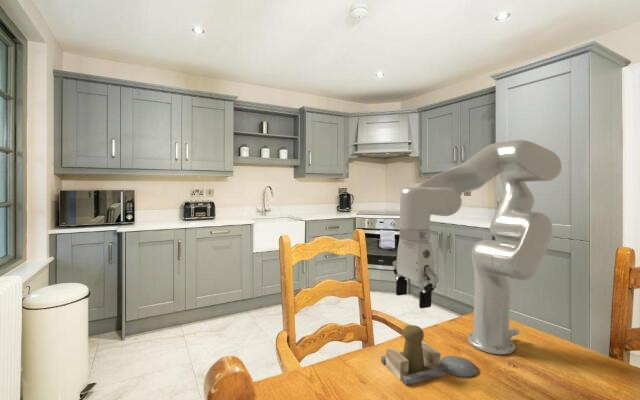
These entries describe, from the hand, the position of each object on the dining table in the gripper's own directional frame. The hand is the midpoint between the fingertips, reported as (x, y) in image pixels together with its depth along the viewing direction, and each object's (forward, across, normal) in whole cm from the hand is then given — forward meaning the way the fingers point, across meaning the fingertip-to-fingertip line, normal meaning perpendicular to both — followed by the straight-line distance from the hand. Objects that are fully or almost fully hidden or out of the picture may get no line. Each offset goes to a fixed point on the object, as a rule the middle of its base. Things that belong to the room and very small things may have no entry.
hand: (412, 300), depth 83 cm
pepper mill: (+18, 0, -1) cm, 18 cm away
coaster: (+18, -4, -12) cm, 22 cm away
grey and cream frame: (+18, 0, -1) cm, 18 cm away
